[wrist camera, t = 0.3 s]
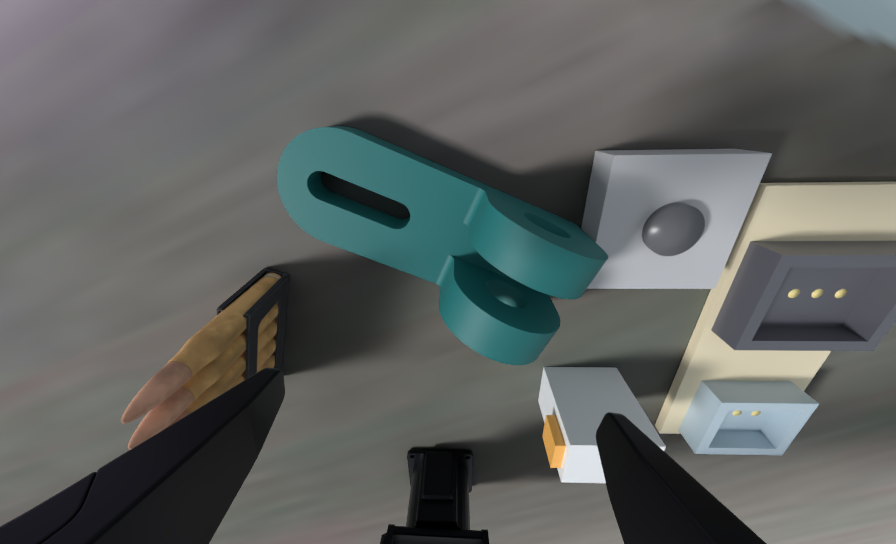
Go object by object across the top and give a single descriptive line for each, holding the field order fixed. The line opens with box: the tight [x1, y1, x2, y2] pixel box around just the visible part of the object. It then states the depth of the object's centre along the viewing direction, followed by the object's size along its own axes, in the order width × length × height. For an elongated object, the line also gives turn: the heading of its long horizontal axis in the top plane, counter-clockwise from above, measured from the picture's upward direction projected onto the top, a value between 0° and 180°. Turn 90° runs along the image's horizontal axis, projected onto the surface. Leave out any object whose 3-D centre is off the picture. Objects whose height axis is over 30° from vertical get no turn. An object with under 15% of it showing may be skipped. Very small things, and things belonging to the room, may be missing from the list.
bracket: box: [277, 126, 608, 365], centre depth 18 cm, size 18×7×8 cm, turn 68°
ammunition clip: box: [121, 268, 290, 450], centre depth 20 cm, size 11×2×12 cm, turn 163°
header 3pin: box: [679, 380, 819, 455], centre depth 26 cm, size 6×7×2 cm
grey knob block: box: [581, 149, 772, 289], centre depth 19 cm, size 8×8×3 cm
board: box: [655, 182, 896, 434], centre depth 24 cm, size 22×10×1 cm, turn 1°
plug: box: [538, 367, 666, 483], centre depth 24 cm, size 4×7×7 cm, turn 91°
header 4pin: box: [711, 241, 896, 351], centre depth 21 cm, size 7×9×2 cm
